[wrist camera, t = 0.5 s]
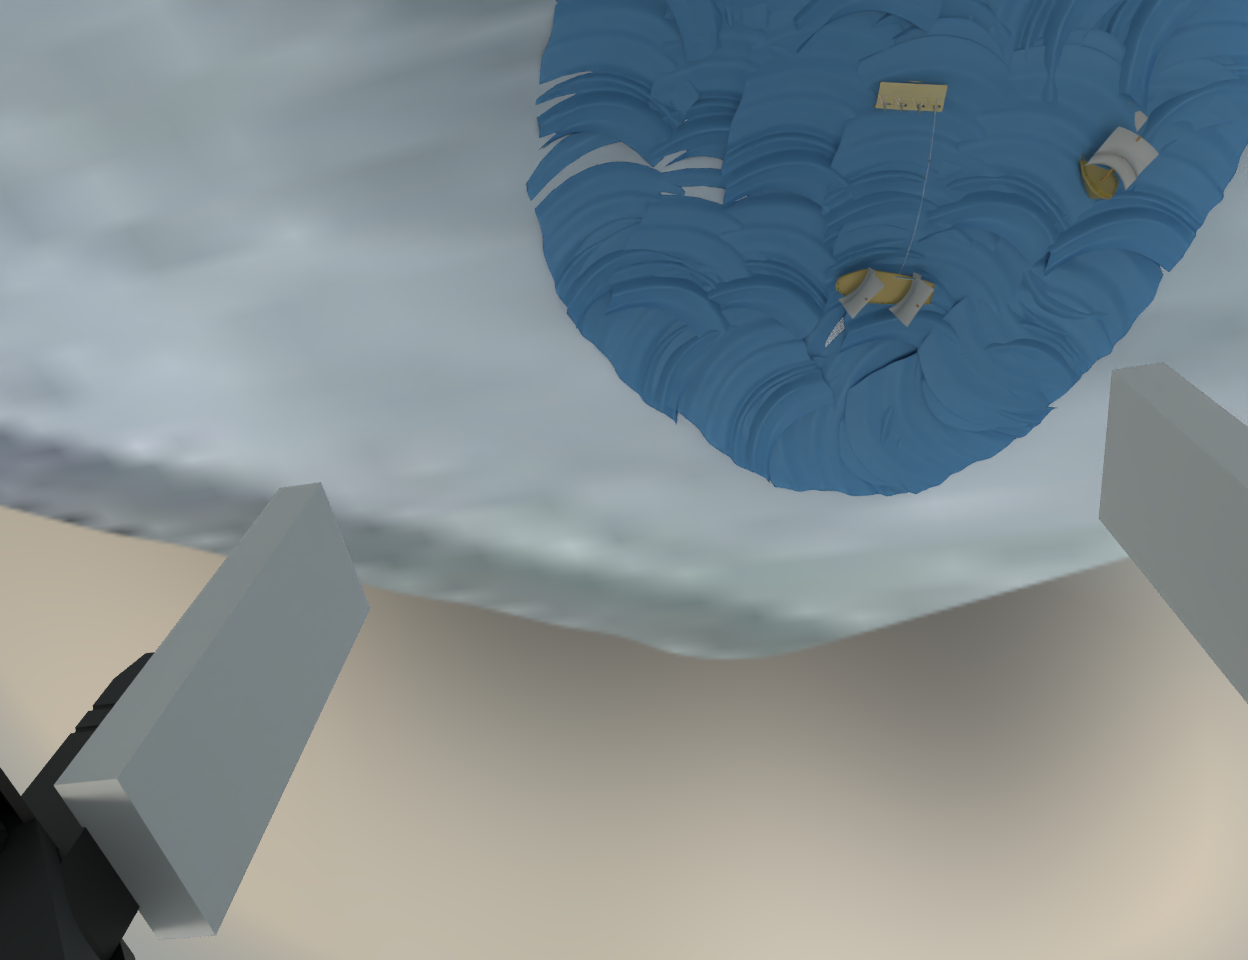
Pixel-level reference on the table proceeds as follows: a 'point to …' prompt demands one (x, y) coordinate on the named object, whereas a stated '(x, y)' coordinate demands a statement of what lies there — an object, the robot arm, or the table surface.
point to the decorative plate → (879, 210)
